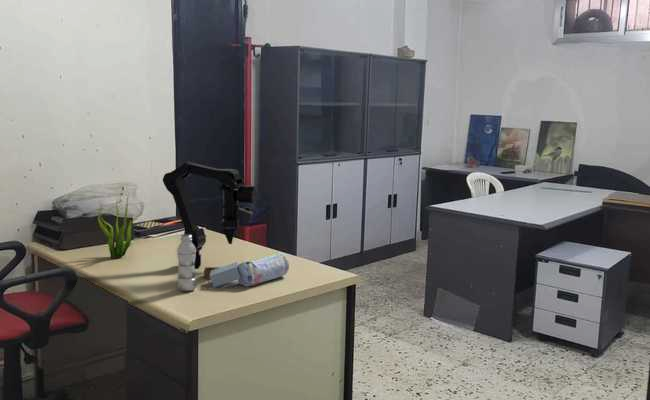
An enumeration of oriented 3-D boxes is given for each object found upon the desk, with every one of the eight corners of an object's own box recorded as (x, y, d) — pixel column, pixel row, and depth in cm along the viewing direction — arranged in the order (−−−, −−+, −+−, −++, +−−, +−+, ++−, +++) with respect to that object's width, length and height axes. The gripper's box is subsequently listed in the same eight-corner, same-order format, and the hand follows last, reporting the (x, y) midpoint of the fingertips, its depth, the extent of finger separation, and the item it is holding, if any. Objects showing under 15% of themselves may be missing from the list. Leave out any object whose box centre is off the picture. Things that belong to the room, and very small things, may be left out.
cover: (213, 287, 217) (209, 276, 216) (215, 281, 224) (210, 270, 223) (240, 278, 217) (236, 267, 216) (240, 273, 224) (236, 261, 223)
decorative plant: (84, 203, 240) (89, 187, 253) (110, 263, 255) (114, 244, 268) (129, 192, 242) (131, 176, 254) (153, 252, 257) (154, 233, 269)
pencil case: (249, 290, 216) (250, 264, 214) (233, 283, 221) (234, 258, 220) (290, 278, 231) (291, 254, 230) (274, 273, 237) (275, 249, 235)
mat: (206, 288, 216) (206, 287, 216) (208, 282, 224) (208, 281, 224) (240, 288, 218) (240, 287, 218) (241, 281, 225) (241, 281, 225)
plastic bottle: (178, 287, 216) (177, 233, 213) (197, 287, 217) (197, 233, 214) (175, 293, 210) (174, 237, 207) (195, 293, 211) (194, 237, 207)
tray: (204, 279, 228) (203, 270, 227) (205, 275, 233) (205, 267, 232) (246, 278, 230) (246, 270, 229) (247, 275, 234) (247, 267, 234)
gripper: (251, 206, 227) (251, 246, 229) (251, 198, 245) (251, 236, 248) (221, 206, 226) (221, 246, 228) (224, 198, 244) (224, 236, 247)
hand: (230, 241), depth 238 cm, fingers open, 9 cm apart
